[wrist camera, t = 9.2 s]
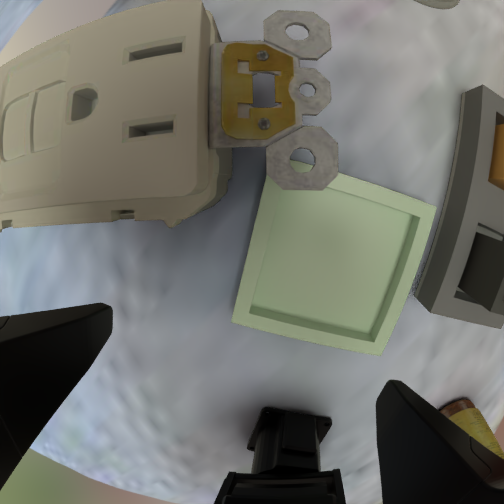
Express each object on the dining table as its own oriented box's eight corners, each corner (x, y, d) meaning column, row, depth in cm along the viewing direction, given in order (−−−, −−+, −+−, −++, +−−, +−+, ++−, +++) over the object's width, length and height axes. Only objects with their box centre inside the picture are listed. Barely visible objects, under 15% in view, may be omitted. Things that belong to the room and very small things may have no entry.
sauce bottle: (425, 410, 22) (486, 576, 2) (477, 387, 20) (557, 527, 1) (421, 445, 23) (461, 587, 4) (468, 425, 22) (524, 551, 2)
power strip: (482, 313, 19) (500, 329, 16) (414, 295, 19) (430, 312, 16) (526, 137, 15) (548, 135, 12) (462, 93, 15) (482, 84, 12)
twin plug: (480, 289, 18) (529, 325, 11) (446, 279, 18) (496, 317, 11) (496, 242, 17) (552, 266, 10) (463, 227, 17) (521, 248, 10)
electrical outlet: (8, 110, 19) (-64, 101, 9) (305, 53, 17) (329, -28, 8) (7, 222, 22) (-67, 244, 12) (309, 210, 20) (346, 236, 10)
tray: (375, 344, 20) (380, 356, 19) (235, 311, 21) (231, 322, 19) (425, 204, 18) (436, 207, 16) (273, 157, 18) (271, 154, 17)
